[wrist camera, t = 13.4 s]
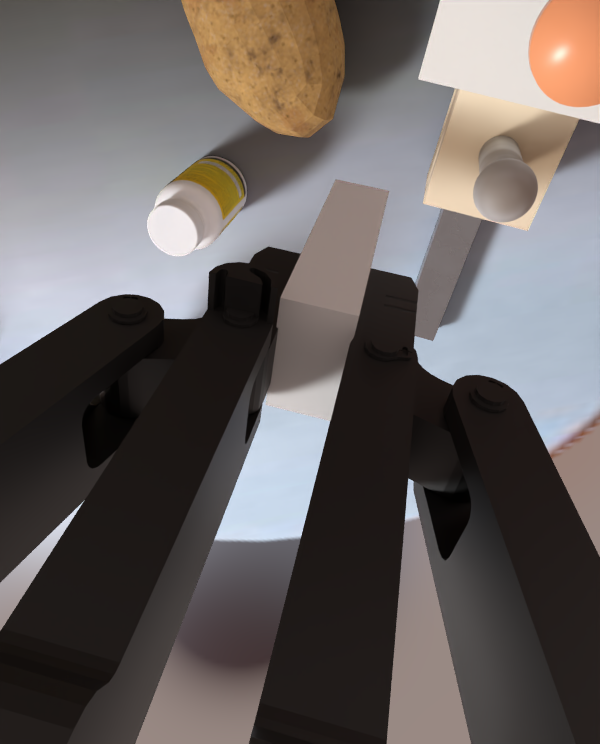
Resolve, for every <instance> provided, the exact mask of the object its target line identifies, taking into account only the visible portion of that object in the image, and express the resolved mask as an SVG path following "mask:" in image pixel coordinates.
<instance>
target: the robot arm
mask: <svg viewBox="0 0 600 744" xmlns="http://www.w3.org/2000/svg"><path fill="white" fill-rule="evenodd" d="M388 194H389V191H387V190H382V189H378V188H373V187H368V186H364V185H359V184H355V183H350V182H345V181H341V180H335V182H334V184H333V187H332V189H331V191H330V193H329V195H328V197H327V199H326V202H325V204H324V206H323V208H322V210H321V212H320V214H319V216H318V219H317V221H316V223H315V225H314V227H313V229H312V231H311V233H310V236H309V238H308V240H307V242H306V244H305V246H304V248H303V251H302V253H301V254H299V253H294V252H290V251H285V250H281V249H277V248H272V247H267V248H265V249H263V250H261V251H260V252H258V253H256V254H255V255H254V256H253V258H252V259H251V261H250V263H241V262H237V263H226V264H223V265H220V266H217V267H215V268H214V269H213V270H211V271H210V272H209V290H208V309H207V311H206V312H205V314H204V316H203V317H202V318H197V319H164V310H163V309H162V307H161V306H160V304H159V303H157V302H155V301H154V300H152V299H150V298H147V297H143V296H140V295H131V294H125V295H118V296H112V297H109V298H107V299H105V300H102V301H100V302H98V303H97V304H95V305H94V306H92V307H91V308H89V309H87V310H86V311H84V312H83V313H81V314H79V315H78V316H76V317H75V318H73V319H72V320H70V321H68V322H67V323H65V324H64V325H62V326H60V327H59V328H57V329H56V330H54V331H52V332H51V333H49V334H48V335H46V336H45V337H43V338H41V339H40V340H38V341H37V342H35V343H33V344H32V345H30V346H29V347H27V348H26V349H24V350H22V351H21V352H19V353H18V354H16V355H14V356H13V357H11V358H10V359H8V360H7V361H5V362H3V363H2V364H0V582H1V581H2V580H3V579H4V578H5V577H6V576H7V575H8V574H9V573H10V572H11V571H12V570H14V568H16V566H18V565H19V564H20V563H21V562H22V560H24V559H25V558H26V557H27V556H28V555H29V554H30V553H31V552H32V551H33V550H34V549H35V548H36V547H37V546H38V545H39V544H40V543H41V542H42V541H43V540H44V539H45V538H46V537H47V536H48V535H49V534H50V533H51V532H52V531H53V530H54V529H55V528H56V527H57V526H58V525H59V524H60V523H62V521H64V520H65V518H67V517H68V516H69V515H70V514H71V513H72V512H73V511H74V510H75V509H76V508H77V507H78V506H79V505H80V504H81V503H82V502H83V501H84V500H85V501H84V502H83V504H82V505H81V507H80V508H79V510H78V511H77V513H76V515H75V516H74V518H73V519H72V521H71V522H70V524H69V526H68V527H67V529H66V530H65V532H64V533H63V535H62V536H61V538H60V540H59V541H58V543H57V544H56V546H55V547H54V549H53V551H52V552H51V554H50V555H49V557H48V558H47V560H46V561H45V563H44V564H43V566H42V568H41V569H40V571H39V572H38V574H37V575H36V577H35V578H34V580H33V581H32V583H31V585H30V586H29V588H28V589H27V591H26V592H25V594H24V596H23V597H22V599H21V600H20V602H19V603H18V605H17V606H16V608H15V609H14V611H13V613H12V614H11V616H10V617H9V619H8V620H7V622H6V624H5V625H4V627H3V628H2V630H1V631H0V744H135V743H136V740H137V737H138V735H139V732H140V730H141V727H142V725H143V722H144V719H145V717H146V714H147V712H148V709H149V706H150V704H151V701H152V699H153V696H154V693H155V691H156V688H157V686H158V683H159V681H160V678H161V676H162V673H163V670H164V668H165V665H166V663H167V660H168V657H169V655H170V652H171V650H172V647H173V645H174V642H175V639H176V637H177V634H178V632H179V629H180V626H181V624H182V621H183V619H184V616H185V613H186V611H187V608H188V606H189V603H190V601H191V598H192V595H193V592H194V590H195V588H196V585H197V583H198V580H199V577H200V575H201V572H202V570H203V567H204V565H205V562H206V559H207V557H208V554H209V552H210V549H211V546H212V544H213V541H214V539H215V536H216V534H217V531H218V528H219V526H220V523H221V521H222V518H223V515H224V513H225V510H226V508H227V505H228V503H229V500H230V497H231V495H232V492H233V490H234V487H235V485H236V482H237V479H238V477H239V474H240V472H241V469H242V466H243V464H244V461H245V459H246V456H247V454H248V451H249V448H250V446H251V443H252V441H253V438H254V435H255V433H256V430H257V428H258V425H259V423H260V417H261V410H262V403H263V401H264V398H265V396H266V393H267V398H266V405H268V406H272V407H276V408H280V409H284V410H288V411H292V412H296V413H300V414H304V415H308V416H312V417H316V418H320V419H324V420H328V421H330V425H329V429H328V433H327V437H326V441H325V445H324V449H323V453H322V457H321V461H320V465H319V469H318V472H317V476H316V480H315V484H314V488H313V492H312V496H311V500H310V504H309V508H308V512H307V516H306V520H305V524H304V528H303V532H302V536H301V540H300V545H299V548H298V552H297V556H296V560H295V564H294V568H293V572H292V576H291V580H290V584H289V588H288V592H287V596H286V600H285V604H284V608H283V612H282V616H281V620H280V624H279V628H278V632H277V636H276V639H275V643H274V647H273V651H272V655H271V660H270V663H269V667H268V671H267V675H266V679H265V683H264V687H263V691H262V695H261V699H260V703H259V707H258V711H257V715H256V719H255V723H254V727H253V730H252V734H251V738H250V742H249V744H386V743H387V729H388V717H389V705H390V693H391V680H392V668H393V657H394V645H395V632H396V620H397V619H396V618H397V608H398V595H399V583H400V570H401V559H402V547H403V534H404V522H405V510H406V498H407V486H408V478H409V479H411V480H413V481H414V494H415V499H416V503H417V507H418V512H419V516H420V521H421V525H422V529H423V533H424V538H425V543H426V546H427V551H428V555H429V560H430V564H431V569H432V573H433V577H434V582H435V586H436V591H437V595H438V599H439V604H440V608H441V612H442V617H443V621H444V626H445V630H446V634H447V639H448V643H449V647H450V652H451V657H452V661H453V665H454V670H455V674H456V678H457V683H458V687H459V692H460V696H461V700H462V705H463V709H464V714H465V718H466V722H467V727H468V731H469V735H470V740H471V744H600V557H599V555H598V553H597V551H596V549H595V546H594V544H593V542H592V540H591V539H590V536H589V534H588V532H587V530H586V528H585V526H584V524H583V522H582V520H581V518H580V516H579V514H578V512H577V510H576V508H575V506H574V504H573V502H572V500H571V498H570V495H569V494H568V491H567V489H566V487H565V485H564V483H563V481H562V479H561V477H560V475H559V473H558V471H557V469H556V467H555V465H554V463H553V461H552V459H551V457H550V455H549V453H548V450H547V448H546V446H545V444H544V442H543V440H542V438H541V436H540V434H539V432H538V430H537V428H536V426H535V424H534V422H533V420H532V418H531V416H530V414H529V412H528V410H527V408H526V406H525V404H524V402H523V400H522V399H521V398H520V396H519V395H518V394H517V392H515V391H514V390H513V389H512V388H510V387H509V386H508V385H506V384H505V383H502V382H500V381H498V380H496V379H494V378H490V377H486V376H481V375H467V376H464V377H462V378H459V379H457V381H456V382H455V383H454V385H451V384H449V383H447V382H445V381H442V380H440V379H438V378H437V377H435V376H433V375H431V374H430V373H429V372H427V371H426V370H425V369H423V368H422V366H421V365H420V364H419V363H418V357H417V353H416V350H415V349H414V336H415V325H416V313H417V302H418V292H419V290H418V288H417V287H416V285H415V283H414V282H413V280H412V278H411V277H406V276H402V275H398V274H393V273H389V272H384V271H380V270H376V269H371V265H372V260H373V256H374V252H375V248H376V244H377V240H378V235H379V231H380V227H381V223H382V219H383V215H384V210H385V206H386V202H387V198H388Z"/></svg>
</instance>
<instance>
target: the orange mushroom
mask: <svg viewBox="0 0 600 744" xmlns="http://www.w3.org/2000/svg"><path fill="white" fill-rule="evenodd" d="M528 58H529V65H530V69H531V72H532V75H533V77H534V79H535V80H536V82H537V84H538V86H539V87H540V89H541V90H542V91H543V92H544V93H545V94H546V95H547V96H548V97H549V98H551V99H552V100H553V101H555V102H557V103H559V104H562V105H566V106H571V107H589V106H594V105H598V104H600V0H549V1H548V2H547V3H546V5H545V6H544V7H543V9H542V10H541V12H540V14H539V16H538V17H537V19H536V21H535V24H534V26H533V29H532V32H531V35H530V40H529V48H528Z"/></svg>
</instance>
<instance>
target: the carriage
mask: <svg viewBox="0 0 600 744" xmlns="http://www.w3.org/2000/svg"><path fill="white" fill-rule="evenodd" d="M578 121H579V118H575V117H571V116H567V115H563V114H559V113H554V112H550V111H546V110H542V109H538V108H534V107H530V106H526V105H522V104H518V103H514V102H510V101H505V100H501V99H497V98H493V97H489V96H485V95H481V94H477V93H473V92H469V91H465V90H461V89H456V88H455V90H454V93H453V97H452V100H451V103H450V106H449V109H448V112H447V115H446V118H445V122H444V125H443V128H442V131H441V134H440V137H439V140H438V143H437V147H436V150H435V153H434V156H433V159H432V162H431V165H430V169H429V172H428V175H427V181H426V188H425V194H424V201H423V204H427V205H431V206H434V207H438V208H442V209H446V210H450V211H454V212H457V213H461V214H465V215H469V216H473V217H477V218H481V219H484V220H488V221H492V222H496V223H500V224H504V225H507V226H511V227H515V228H519V229H523V230H527V231H528V229H529V227H530V225H531V223H532V221H533V218H534V216H535V214H536V212H537V210H538V208H539V205H540V203H541V201H542V199H543V197H544V195H545V193H546V190H547V188H548V186H549V184H550V182H551V180H552V177H553V175H554V173H555V171H556V169H557V167H558V164H559V162H560V160H561V158H562V156H563V154H564V151H565V149H566V147H567V145H568V143H569V141H570V138H571V136H572V134H573V132H574V130H575V128H576V125H577V123H578Z"/></svg>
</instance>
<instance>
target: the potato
mask: <svg viewBox="0 0 600 744" xmlns="http://www.w3.org/2000/svg"><path fill="white" fill-rule="evenodd" d="M181 1H182V4H183V7H184V10H185V13H186V16H187V18H188V21H189V23H190V26H191V29H192V31H193V34H194V36H195V39H196V42H197V45H198V48H199V50H200V53H201V56H202V59H203V62H204V65H205V68H206V70H207V71H208V73H209V74H210V76H211V78H212V79H213V81H214V82H215V84H216V86H217V87H218V89H219V90H220V91H222V92H223V93H224V94H225V95H226V96H227V97H229V98H230V99H231V100H232V101H233V102H234V103H236V104H237V105H238V106H239V107H240V108H241V109H243V110H244V111H245V112H246V113H247V114H248V115H250V116H251V117H252V118H253V119H254V120H255V121H257V122H258V123H260V124H262V125H263V126H265V127H267V128H269V129H270V130H272V131H274V132H275V133H277V134H284V135H290V136H297V137H307V138H309V137H310V136H312V135H313V134H314V133H315V132H317V131H318V130H319V129H321V128H322V127H323V126H324V125H326V124H327V123H328V122H329V121H331V120H332V119H333V116H334V113H335V109H336V105H337V102H338V98H339V94H340V91H341V87H342V83H343V80H344V76H345V44H344V39H343V33H342V28H341V23H340V18H339V14H338V11H337V8H336V4H335V1H334V0H181Z"/></svg>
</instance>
